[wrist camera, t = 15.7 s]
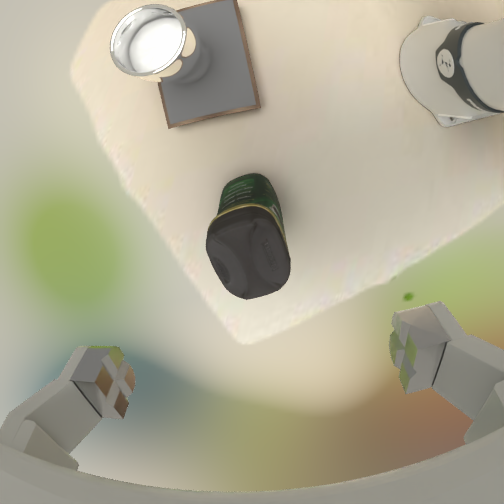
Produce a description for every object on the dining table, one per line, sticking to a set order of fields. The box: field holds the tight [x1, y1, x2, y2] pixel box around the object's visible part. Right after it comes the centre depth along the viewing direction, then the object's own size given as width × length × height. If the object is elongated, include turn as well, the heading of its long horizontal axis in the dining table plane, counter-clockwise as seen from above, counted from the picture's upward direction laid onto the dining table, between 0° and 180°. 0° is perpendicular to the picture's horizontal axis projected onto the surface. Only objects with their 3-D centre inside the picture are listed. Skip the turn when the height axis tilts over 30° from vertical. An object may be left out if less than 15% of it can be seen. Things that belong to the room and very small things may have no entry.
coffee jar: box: [206, 174, 291, 300], centre depth 38 cm, size 10×8×19 cm
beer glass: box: [110, 4, 211, 84], centre depth 25 cm, size 7×7×15 cm
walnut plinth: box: [158, 0, 261, 129], centre depth 34 cm, size 12×16×5 cm
